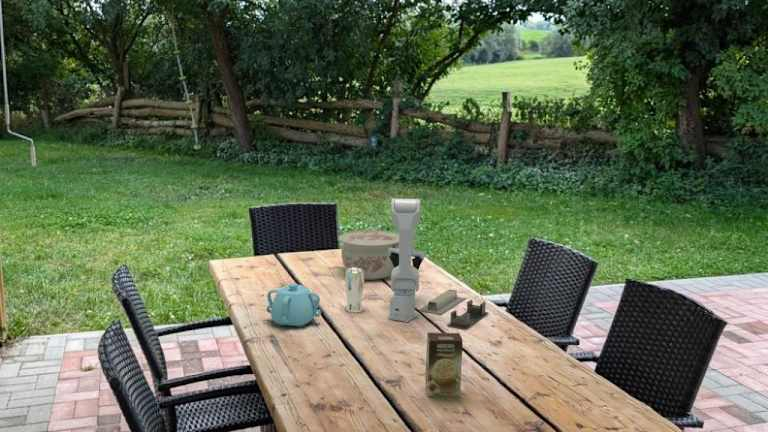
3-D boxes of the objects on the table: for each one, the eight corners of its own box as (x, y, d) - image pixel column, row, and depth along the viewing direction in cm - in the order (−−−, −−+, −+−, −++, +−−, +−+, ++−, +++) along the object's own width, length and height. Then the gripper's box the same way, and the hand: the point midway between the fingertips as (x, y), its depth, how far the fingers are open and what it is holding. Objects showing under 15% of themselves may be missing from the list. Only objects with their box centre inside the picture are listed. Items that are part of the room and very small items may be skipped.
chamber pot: (328, 271, 327) (328, 224, 323) (385, 265, 338) (386, 219, 334) (353, 288, 302) (353, 237, 298) (414, 281, 313) (415, 232, 309)
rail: (435, 311, 274) (436, 303, 273) (428, 309, 275) (428, 301, 274) (456, 298, 289) (456, 290, 288) (448, 297, 290) (449, 289, 290)
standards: (465, 330, 255) (466, 317, 255) (447, 326, 259) (447, 313, 258) (488, 313, 272) (488, 301, 272) (470, 310, 276) (470, 298, 275)
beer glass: (365, 307, 279) (365, 267, 276) (362, 313, 272) (362, 272, 269) (346, 306, 279) (346, 267, 276) (343, 312, 272) (343, 272, 270)
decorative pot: (324, 326, 258) (324, 287, 256) (279, 332, 251) (278, 293, 249) (307, 312, 273) (307, 275, 270) (264, 318, 266) (263, 280, 263)
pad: (441, 315, 271) (441, 314, 271) (418, 310, 275) (418, 309, 275) (465, 299, 290) (465, 298, 289) (444, 295, 294) (444, 294, 294)
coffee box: (426, 397, 203) (428, 340, 200) (424, 387, 210) (426, 332, 206) (461, 397, 204) (462, 340, 200) (458, 387, 210) (459, 332, 207)
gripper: (429, 239, 282) (428, 274, 284) (394, 234, 289) (394, 269, 291) (420, 243, 276) (419, 279, 278) (385, 238, 283) (385, 273, 285)
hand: (406, 274), depth 284 cm, fingers open, 7 cm apart
